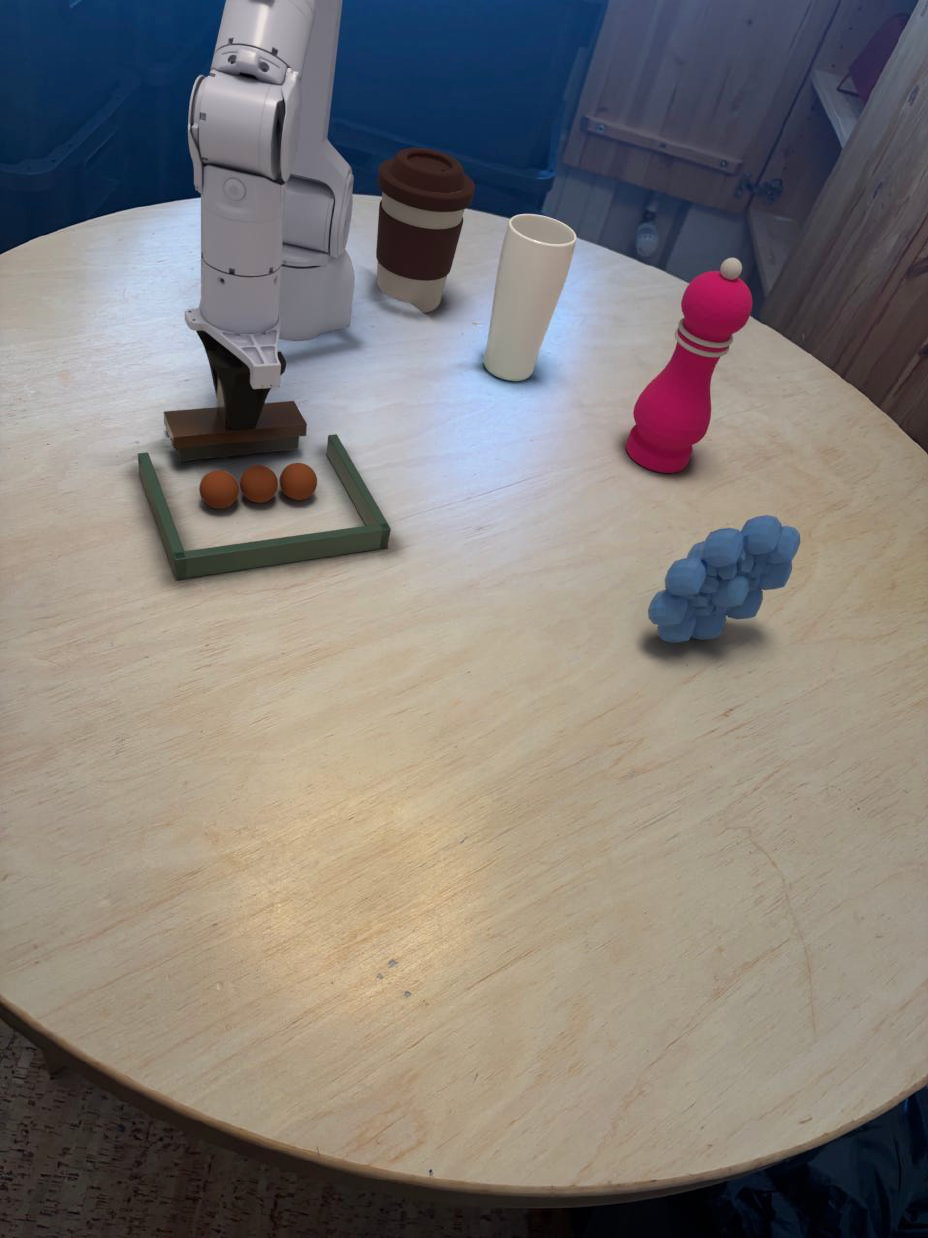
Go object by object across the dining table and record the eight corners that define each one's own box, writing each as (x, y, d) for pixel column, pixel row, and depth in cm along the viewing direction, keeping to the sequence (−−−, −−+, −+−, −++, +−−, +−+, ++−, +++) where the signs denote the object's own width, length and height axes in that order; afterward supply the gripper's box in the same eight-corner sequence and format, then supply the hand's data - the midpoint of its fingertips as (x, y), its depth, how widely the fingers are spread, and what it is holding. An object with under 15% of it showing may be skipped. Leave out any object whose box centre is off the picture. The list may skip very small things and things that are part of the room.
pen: (138, 473, 76) (137, 452, 75) (334, 452, 83) (336, 433, 82) (175, 580, 69) (175, 559, 67) (387, 547, 76) (391, 528, 74)
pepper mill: (690, 485, 91) (778, 288, 77) (617, 464, 91) (692, 263, 77) (692, 444, 96) (775, 253, 82) (623, 425, 96) (694, 231, 82)
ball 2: (314, 509, 78) (304, 490, 80) (327, 477, 76) (315, 459, 78) (280, 503, 76) (270, 484, 78) (292, 471, 75) (281, 452, 77)
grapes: (725, 589, 80) (786, 476, 72) (770, 647, 76) (840, 533, 68) (608, 607, 76) (658, 488, 68) (649, 670, 72) (708, 551, 63)
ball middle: (277, 510, 76) (267, 498, 78) (286, 475, 75) (276, 463, 77) (240, 504, 74) (231, 491, 77) (250, 468, 73) (240, 456, 76)
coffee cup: (350, 278, 107) (366, 138, 96) (430, 276, 111) (454, 142, 101) (382, 323, 101) (403, 180, 91) (465, 319, 105) (494, 182, 95)
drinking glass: (540, 360, 102) (578, 223, 92) (537, 393, 97) (577, 251, 87) (478, 346, 101) (510, 206, 91) (472, 378, 97) (505, 234, 86)
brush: (164, 438, 79) (160, 344, 73) (292, 426, 84) (298, 337, 78) (174, 464, 77) (171, 370, 71) (305, 450, 82) (312, 360, 76)
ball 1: (238, 517, 75) (228, 501, 77) (247, 482, 74) (237, 467, 76) (200, 511, 73) (191, 496, 75) (209, 475, 72) (200, 461, 74)
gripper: (162, 213, 72) (167, 371, 81) (212, 310, 63) (210, 474, 72) (254, 213, 75) (248, 366, 84) (313, 306, 66) (299, 464, 75)
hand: (236, 416), depth 78 cm, fingers closed on brush, 2 cm apart
